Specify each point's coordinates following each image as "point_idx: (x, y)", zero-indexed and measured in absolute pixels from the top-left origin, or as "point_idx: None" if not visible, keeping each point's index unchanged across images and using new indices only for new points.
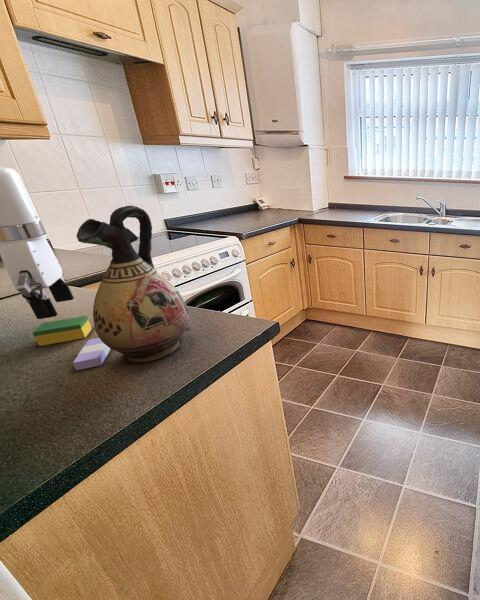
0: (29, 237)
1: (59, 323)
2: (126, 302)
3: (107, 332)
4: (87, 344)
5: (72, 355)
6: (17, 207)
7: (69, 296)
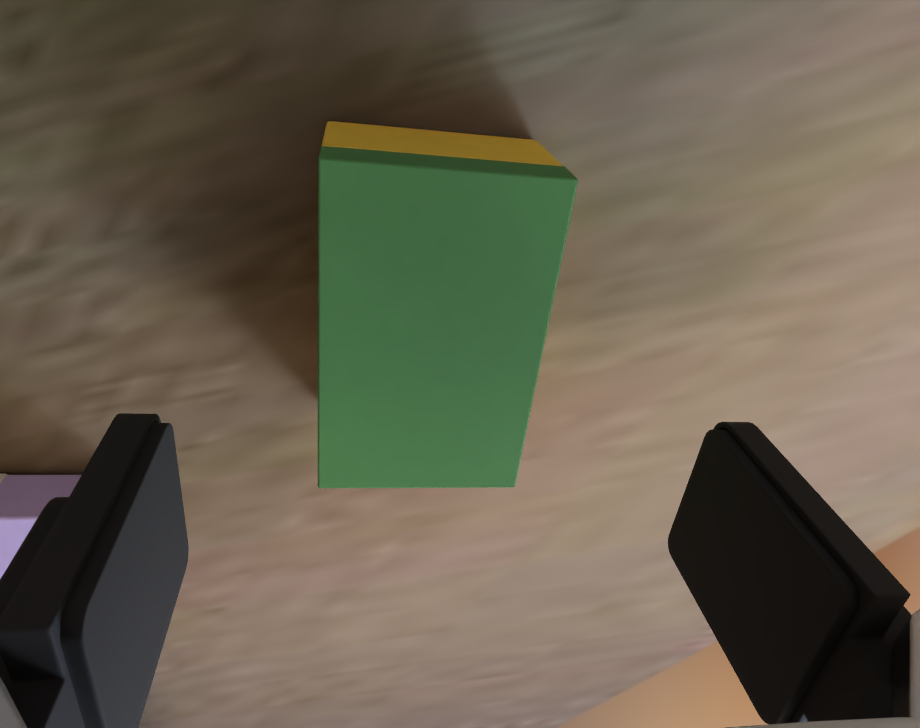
0: None
1: (445, 340)
2: None
3: None
4: (12, 531)
5: (20, 397)
6: None
7: (689, 568)
